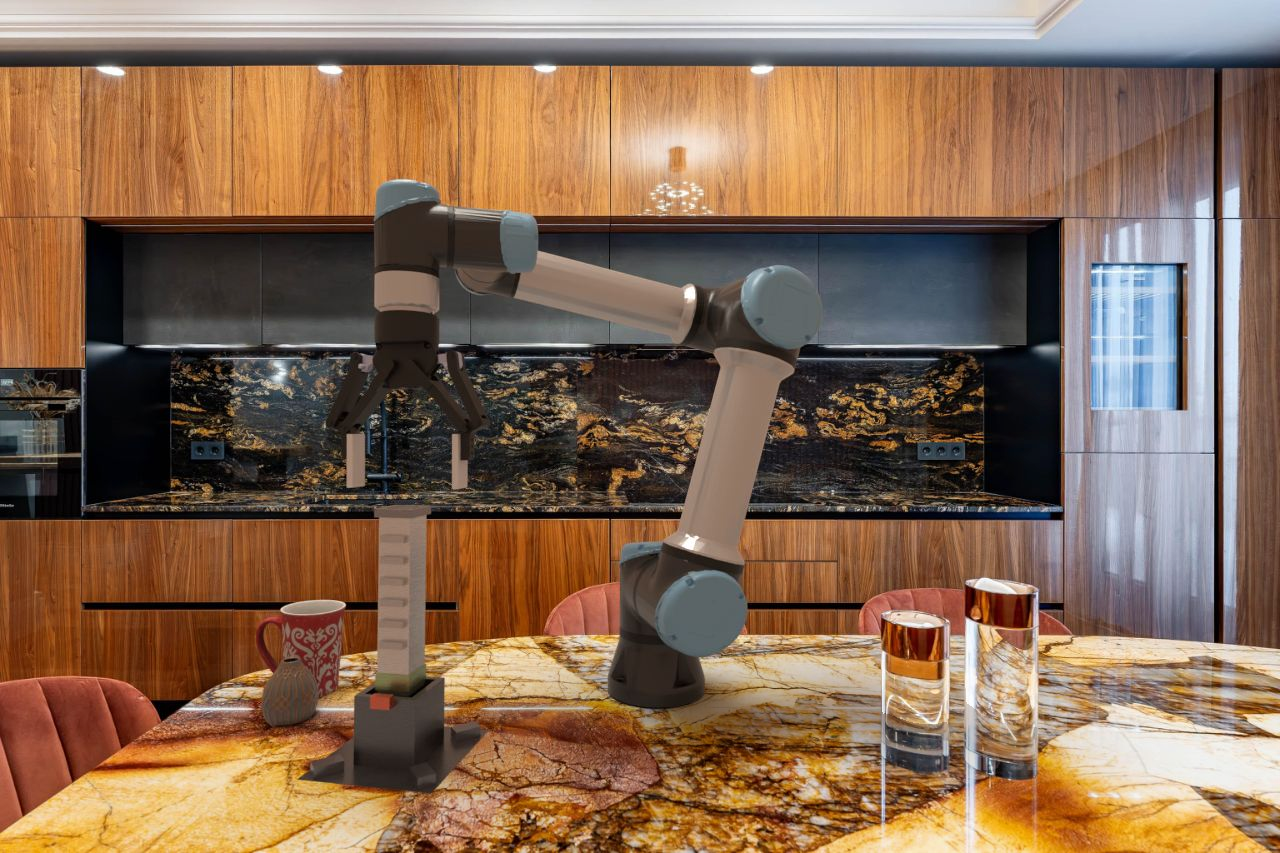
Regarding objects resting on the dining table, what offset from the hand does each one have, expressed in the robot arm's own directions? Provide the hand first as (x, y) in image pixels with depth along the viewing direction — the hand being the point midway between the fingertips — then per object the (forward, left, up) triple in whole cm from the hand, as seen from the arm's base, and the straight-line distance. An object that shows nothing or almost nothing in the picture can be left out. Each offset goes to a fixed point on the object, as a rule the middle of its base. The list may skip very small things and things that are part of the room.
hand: (407, 487), depth 84 cm
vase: (+20, -7, -33) cm, 40 cm away
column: (0, 0, -24) cm, 24 cm away
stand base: (0, 0, -33) cm, 33 cm away
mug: (+25, -16, -33) cm, 45 cm away
